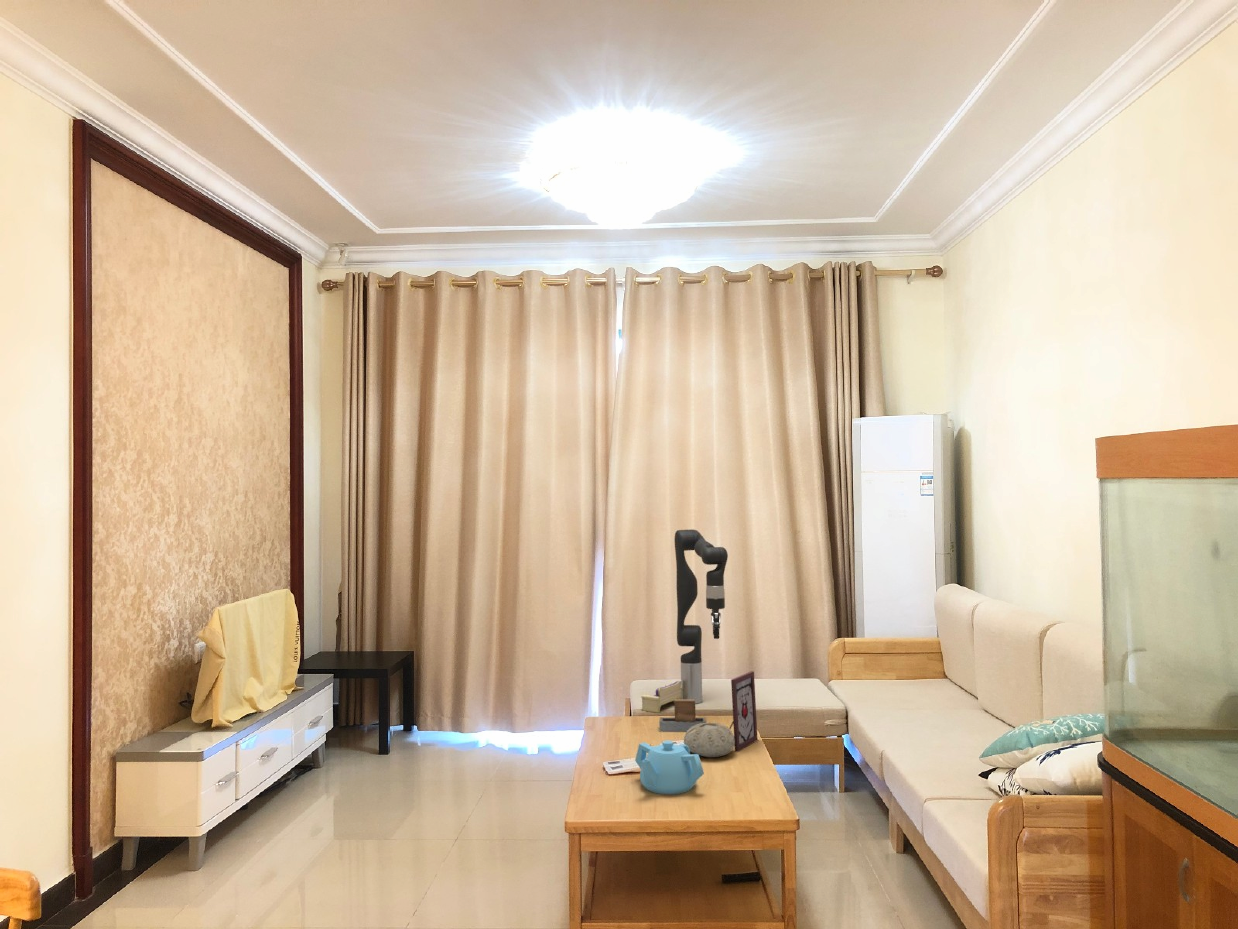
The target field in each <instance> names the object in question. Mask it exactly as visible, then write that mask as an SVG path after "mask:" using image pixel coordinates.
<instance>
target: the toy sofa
mask: <svg viewBox="0 0 1238 929" xmlns="http://www.w3.org/2000/svg"><path fill="white" fill-rule="evenodd" d="M640 696H641V702H642V703H641V704H642V705H641V706H642V707H641V708H642V710H641V711H645V712H651V713H657V714H658V713H659V714H660V712H661V707H662V706H663V705H667V704H668V703H674V702H675V699H682V688H681V680H677V681H675V682H673V683H671V684H668V685H665V686H662V687H657V688H656V690H655V695H648V694H641V695H640Z"/></svg>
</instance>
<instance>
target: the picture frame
mask: <svg viewBox="0 0 1238 929" xmlns="http://www.w3.org/2000/svg"><path fill="white" fill-rule="evenodd" d="M730 682H731V683H730V684H731V700H732V701H731V702H732V718H733V719H732V722H731V724H730V725H729V727H728V728H729V729H730V730H731V729H732V728H733V735H734V740H735V745H734V752H737V753H738V752H740V751H741V750H743V749H745V748H746V747H748V746H750V745H752V744H753V743H755V742H757V741H758V725H757V724H758V723H757V705H756V685H755V672H754V671H753V670H752V671H748V672H746V673H744V674H742V675H739V676H736V677H734V678H732V679H730Z"/></svg>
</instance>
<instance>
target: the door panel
mask: <svg viewBox="0 0 1238 929" xmlns="http://www.w3.org/2000/svg"><path fill="white" fill-rule="evenodd" d="M674 718H675V721H691V722H696V718H697V717H696V703H695V699H675V703H674Z"/></svg>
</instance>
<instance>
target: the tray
mask: <svg viewBox="0 0 1238 929" xmlns="http://www.w3.org/2000/svg"><path fill="white" fill-rule="evenodd" d="M658 723H659V727H658V728H659V729H658V730H659V732H674V733H675V732H678V733H679V732H685V733H686V732H687V730H689V729H690V728H691V727H692V726H694V725H697V724H699V723H707V718H706V717H696V722H691V721H675V717H661V716H660V717H659V722H658Z"/></svg>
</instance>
